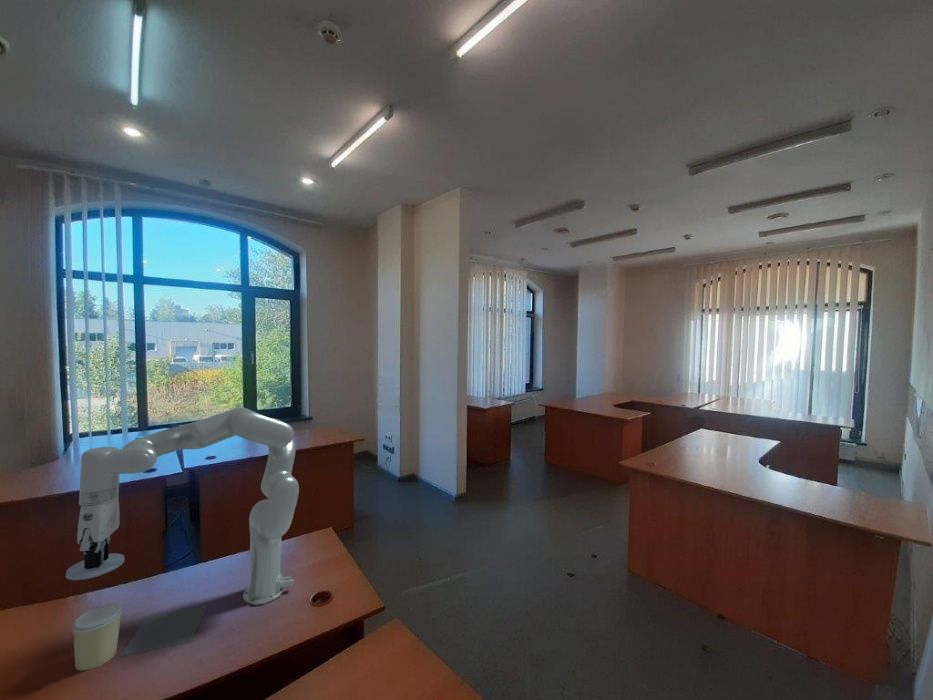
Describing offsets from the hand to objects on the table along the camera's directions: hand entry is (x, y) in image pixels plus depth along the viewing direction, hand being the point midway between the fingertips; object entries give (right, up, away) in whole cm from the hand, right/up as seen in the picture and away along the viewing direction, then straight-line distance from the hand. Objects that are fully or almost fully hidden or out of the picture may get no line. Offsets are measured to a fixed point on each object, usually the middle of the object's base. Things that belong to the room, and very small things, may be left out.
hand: (96, 563), depth 99 cm
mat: (+10, -26, +11) cm, 30 cm away
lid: (0, -1, 0) cm, 1 cm away
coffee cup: (0, -26, 0) cm, 26 cm away
